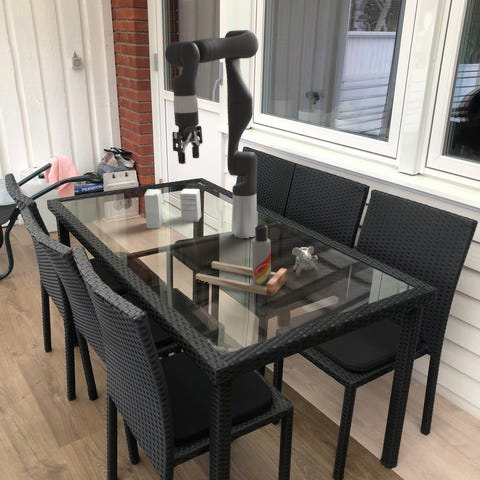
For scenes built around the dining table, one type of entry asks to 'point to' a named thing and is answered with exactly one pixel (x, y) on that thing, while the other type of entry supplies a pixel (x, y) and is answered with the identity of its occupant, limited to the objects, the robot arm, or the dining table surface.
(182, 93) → the robot arm
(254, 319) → the dining table surface
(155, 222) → the skincare box
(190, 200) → the supplement box
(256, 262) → the lotion bottle
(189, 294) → the dining table surface
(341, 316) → the dining table surface
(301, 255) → the elephant statuette
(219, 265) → the guide lane
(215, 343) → the dining table surface
